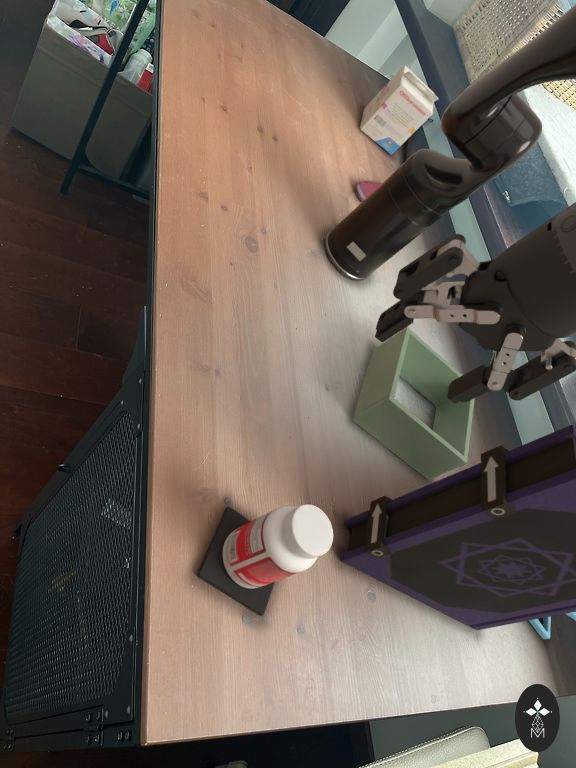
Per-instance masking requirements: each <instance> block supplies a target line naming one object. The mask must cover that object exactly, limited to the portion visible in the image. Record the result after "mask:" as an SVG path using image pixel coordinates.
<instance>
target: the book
mask: <svg viewBox="0 0 576 768" xmlns="http://www.w3.org/2000/svg"><path fill="white" fill-rule="evenodd" d="M369 504H370V505H369V509H367V510H365V511H363V512H360V513H357V514H355V515H352V516H350V517H348V518H346V519H344V526H346V527H348V528H350V529H351V536H350V542H349V550H348V551H346V552H343V553H341V554H340V555H339V561H340V562H342V563H345V564H346V565H348V566H350V567H353V568H354V569H355V570H358V571H360V572H362V573H364V574H366V575H368V576H369V577H372V578H373V579H375V580H377V581H379V582H381V583H384V584H385V585H388V586H389V587H391V588H393V589H395V590H397V591H399V592H401V593H403V594H405V595H406V596H409V597H411V598H413V599H415V600H417V601H418V602H420V603H423V604H425V605H426V606H429V607H430V608H432V609H434V610H436V611H439V612H441V613H442V614H444V615H446V616H448V617H450V618H452V619H454V620H456V621H459V622H460V623H462V624H464V625H466V626H467V627H468V626H470V627H471V628H472V629H474V630H476V631H480V630H481V631H482V630H486V629H491V628H496V627H502V626H508V625H513V624H518V623H522V622H529V620H534V619H538V620H539V619H543V618H545V617H550V616H551V617H555V616H560V615H566V613H571V612H576V426H575V425H573V424H570V425H568V426H565V427H563V428H561V429H557V430H555V431H553V432H551V433H548V434H546V435H544V436H543V435H542V436H541V437H539V438H536V439H534V440H532V441H529V442H527V443H525V444H521V445H520V446H517V447H515V448H513V449H510V450H508V449H507V448H506V447H504V446H503V445H499V446H496V447H494V448H491V449H489V450H487V451H485V452H482V453H481V454H480V462H479V463H477V464H475V465H472V466H470V467H467V468H465V469H463V470H460V471H458V472H456V473H453V474H451V475H448V476H446V477H443V478H441V479H439V480H436V481H434V482H431V483H429V484H427V485H425V486H422V487H420V488H418V489H417V488H416V489H415V490H412V491H410V492H407V493H406V494H402V495H400V496H398V497H396V498H393V499H392V498H390V497H389V496H387V495H382V496H380V497H378V498H375V499H373V500H371V501H370V503H369Z"/></svg>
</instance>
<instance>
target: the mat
mask: <svg viewBox="0 0 576 768" xmlns="http://www.w3.org/2000/svg"><path fill="white" fill-rule="evenodd" d="M251 521H252V520H250V519H248V518H247V517H246V516H245V515H243V514H241V513H239V512H238V511H237V510H235V509H234V508H233V507H231V506H226V507H225V509H224V511H223V514H222V516H221V518H220V521H219V523H218V525H217V526H216V527H217V528H216V530H215V532H214V535H213V537H212V539H211V542H210V544H209V546H208V548H207V551H206V553H205V555H204V558H203V560H202V563H201V565H200V567H199V570H198V572H197V574H196V576H197V578H199V579H200V580H202V581H204V582H206V583H207V584H209V585H211V586H212V587H213V588H215V589H216V590H218V591H220V592H222V593H223V594H225V595H226V596H228V597H230V598H231V599H232V600H234V601H236V602H237V603H238V604H240V605H242V606H244V607H245V608H247V609H249V610H250V611H251V612H253V613H254V614H257V615H258V616H260V617H263V616H264V615H265V612H266V609H267V607H268V603H269V600H270V598H271V595H272V591H273V589H274V585H275V582H276V581H275V582H272V583H270V584H267V585H264V586H262V587H258V588H245V587H242V586H240V585H238V584H237V583H236V582H235V581H234V580H233V579H232V578H231V577H230V576H229V574H228V573H227V571H226V568H225V566H224V562H223V547H224V543H225V541H226V539H227V537H228V536H229V535H230V534H231V533H232V532H233V531H234V530H236V529H238V528H240V527H241V526H243V525H245V524H247V523H249V522H251Z"/></svg>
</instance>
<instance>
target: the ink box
mask: <svg viewBox="0 0 576 768" xmlns="http://www.w3.org/2000/svg"><path fill="white" fill-rule="evenodd" d="M436 101H439V97H438V96H437V95H436V94H435V92H434V91H433V90H432V89H431V88H430V87H429V86H427V85H426V83H425V82H424V81H422V80H421V79H420V78H419V77H418V76H417V75H416V74H415V72H413V71H412V70H411V69H410V68H409V67H408V66H407V65H405V64H404V65H403V66H402V67H401V68H400V69H399V70H398V71H397V72H396V73H395V74H394V76H393V77H392V78H390V80H389V81H388V82H387V83H386V84H385V85H384V86H383V87H382V88H381V90H380V91H379V92H378V93H377V94H376V95H375V96H374V97H373V99H371V101H370V102H369V103H368V104H367V105H366V106H365V107H364V109H363V112H362V117H361V122H360V125H359V130H360V131H361V132H362V133H364V135H366V136H367V137H369V138H370V139H371V140H372V141H373V142H374V143H376V144H377V145H378V146H379V147H380V148H381V149H383V150H384V151H385V152H387V153H388V155H390V156H393V154H394V153H395V152H396V151H397V150H398V149H399V148H401V146H402V145H403V144H404V143H405V142H407V140H408V138H409V137H410V136H411V135H412V134H413V135H414V133H415V132H417V131H418V129H419V128H421V127H422V125H423V124H424V123H425V122H427V121H428V120H427V119H428V118H429V117H430V116H433V114H434V107H435V106H434V104H435V102H436ZM426 120H427V121H426ZM413 135H412V136H413Z"/></svg>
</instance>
